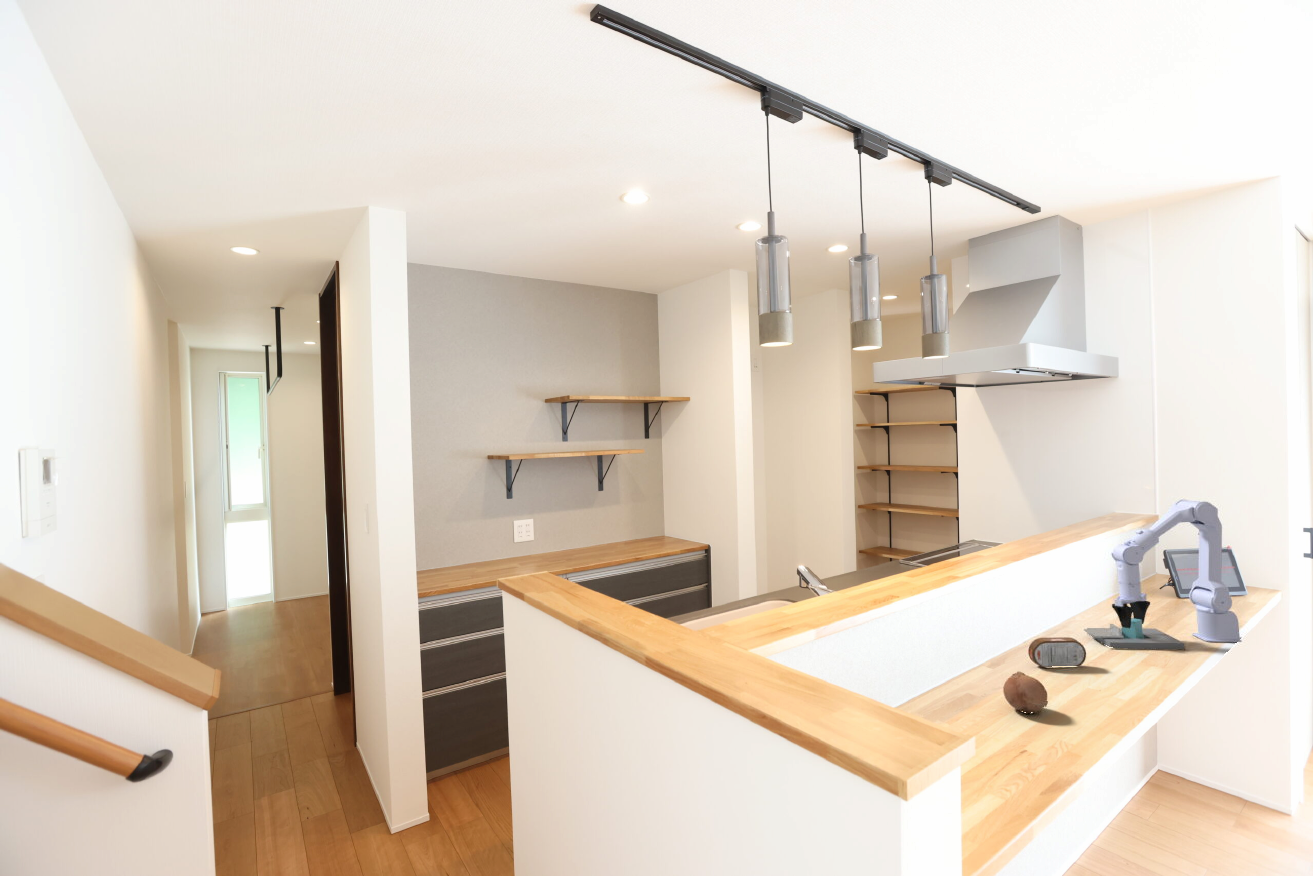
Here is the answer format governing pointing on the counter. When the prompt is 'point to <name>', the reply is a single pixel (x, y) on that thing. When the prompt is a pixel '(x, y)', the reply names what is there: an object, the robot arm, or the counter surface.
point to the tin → (1057, 652)
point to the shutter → (1106, 632)
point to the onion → (1025, 693)
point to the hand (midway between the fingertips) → (1132, 625)
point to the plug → (1133, 629)
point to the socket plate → (1144, 641)
